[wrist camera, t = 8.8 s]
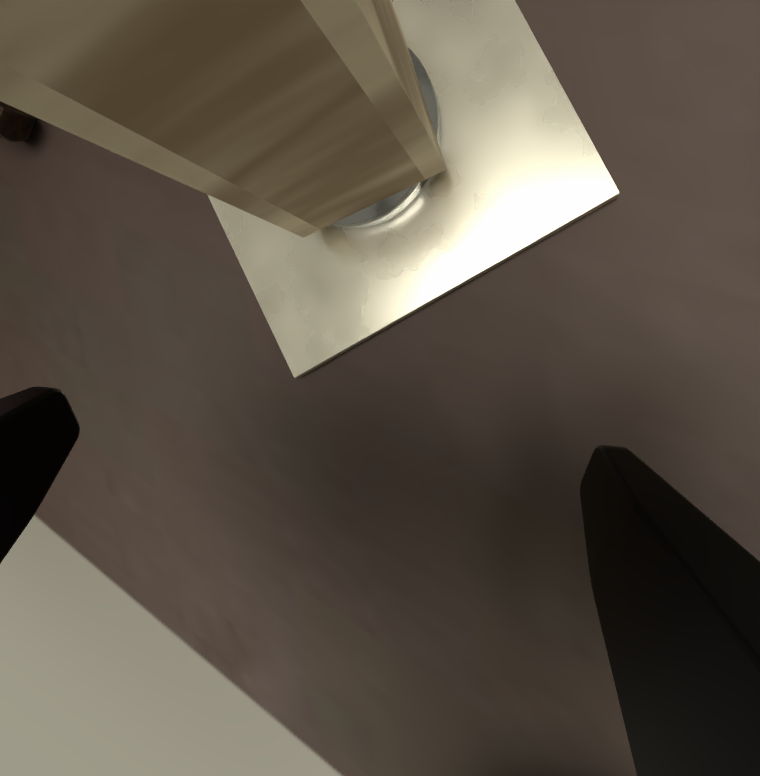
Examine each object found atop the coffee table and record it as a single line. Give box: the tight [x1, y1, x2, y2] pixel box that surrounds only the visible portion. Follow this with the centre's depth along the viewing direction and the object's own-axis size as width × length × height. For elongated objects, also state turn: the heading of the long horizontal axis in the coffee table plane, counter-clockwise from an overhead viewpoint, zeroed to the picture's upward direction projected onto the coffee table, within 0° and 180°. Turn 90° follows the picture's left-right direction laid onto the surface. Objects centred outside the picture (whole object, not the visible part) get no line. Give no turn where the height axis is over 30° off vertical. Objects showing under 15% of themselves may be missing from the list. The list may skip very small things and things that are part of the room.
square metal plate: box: [208, 0, 619, 378], centre depth 16 cm, size 14×14×6 cm
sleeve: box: [0, 0, 447, 238], centre depth 12 cm, size 6×6×12 cm
